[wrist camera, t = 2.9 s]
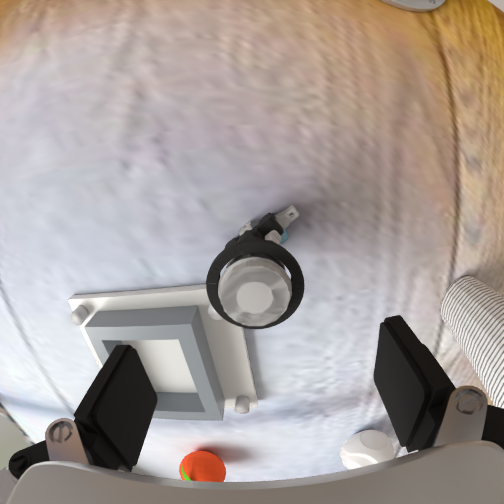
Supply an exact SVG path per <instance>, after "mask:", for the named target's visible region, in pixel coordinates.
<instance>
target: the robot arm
mask: <svg viewBox="0 0 504 504" xmlns="http://www.w3.org/2000/svg"><path fill="white" fill-rule="evenodd" d="M381 1H383V2H385V3H387V4H390V5H392V6H395V7H397V8H401V9H404V10H408V11H415V12H428V11H431V10H434V9H436V8H437V7H439V6H441V5H442V4H443V3H444V2H445V1H446V0H381ZM374 382H375V385H376V387H377V389H378V391H379V394H380V396H381V398H382V401H383V403H384V406H385V408H386V410H387V413H388V415H389V418H390V420H391V422H392V425H393V427H394V430H395V432H396V435H397V437H398V440H399V442H400V445H401V446H402V447H405V446H406V449H407V451H408V453H409V452H412V451H415V450H418V452H415V453H411V454H408V455H405V456H402V457H398V458H395V459H391V460H388V461H384V462H380V463H376V464H372V465H368V466H364V467H360V468H355V469H351V470H346V471H341V472H336V473H331V474H325V475H318V476H312V477H304V478H296V479H286V480H275V481H259V482H204V481H188V480H176V479H167V478H159V477H151V476H145V475H139V474H133V473H127V472H131V470H132V467H133V466H135V465H136V464H137V461H138V458H139V455H140V452H141V449H142V446H143V443H144V440H145V437H146V434H147V431H148V428H149V425H150V422H151V419H152V417H153V414H154V411H155V408H156V405H157V401H158V399H157V394H156V392H155V390H154V388H153V386H152V384H151V382H150V379H149V377H148V375H147V373H146V371H145V368H144V366H143V364H142V362H141V359H140V357H139V355H138V352H137V350H136V349H135V348H133V347H132V346H131V345H116V346H115V348H114V349H113V351H112V352H111V354H110V355H109V357H108V359H107V360H106V362H105V363H104V365H103V367H102V368H101V370H100V371H99V373H98V375H97V376H96V378H95V380H94V381H93V383H92V384H91V386H90V388H89V389H88V391H87V393H86V394H85V396H84V398H83V400H82V401H81V403H80V405H79V406H78V408H77V410H76V412H75V413H74V416H75V420H74V421H72V420H71V419H68V418H61V419H57V420H56V421H54V422H52V423H51V424H50V425H49V426H48V428H47V430H46V433H45V439H46V440H44V441H42V442H39V443H37V444H35V445H32V446H30V447H28V448H25V449H23V450H20V451H18V452H16V453H15V454H14V455H13V456H12V457H11V459H10V461H9V469H7V468H6V467H5V468H4V469H2V470H1V471H0V504H504V408H500V407H496V406H491V405H488V402H487V397H486V395H485V394H484V392H483V391H482V390H480V389H479V388H477V387H474V386H461V387H459V388H457V389H456V388H455V386H454V385H453V383H452V382H451V380H450V379H449V377H448V376H447V375H446V373H445V372H444V370H443V369H442V367H441V366H440V365H439V363H438V362H437V360H436V359H435V358H434V356H433V355H432V353H431V352H430V351H429V349H428V348H427V347H426V346H425V345H424V344H422V343H421V342H420V341H419V339H418V338H417V337H416V335H415V334H414V333H413V331H412V330H411V329H410V327H409V326H408V325H407V323H406V322H405V321H404V319H403V318H402V317H401V316H400V315H397V316H392V317H388V318H385V320H384V322H382V323H381V324H380V331H379V340H378V348H377V355H376V362H375V369H374ZM118 470H121V471H126V472H121V471H118Z"/></svg>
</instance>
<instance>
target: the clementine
mask: <svg viewBox="0 0 504 504" xmlns="http://www.w3.org/2000/svg"><path fill="white" fill-rule="evenodd" d="M179 472H180V475H181V478H182V480H188V481H204V482H223V481H224V480H225V476H226V468H225V466H224V463H223V462H222V460H221V459H220V458H219V457H218V456H216V455H214V454H213V453H210V452H207V451H196V452H192V453H190V454H188V455H187V456H185V457H184V459H183V460H182V462H181V464H180V468H179Z"/></svg>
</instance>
